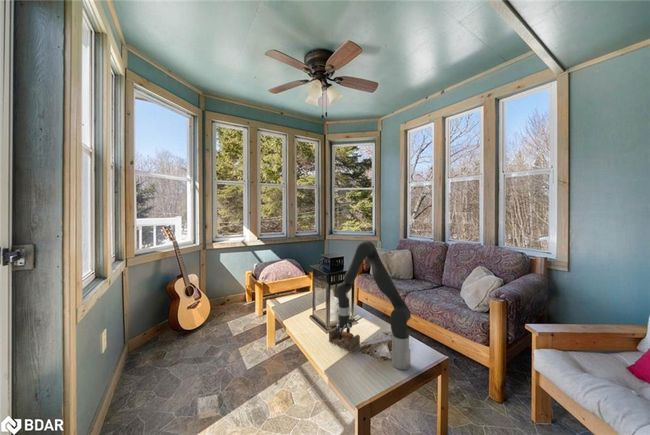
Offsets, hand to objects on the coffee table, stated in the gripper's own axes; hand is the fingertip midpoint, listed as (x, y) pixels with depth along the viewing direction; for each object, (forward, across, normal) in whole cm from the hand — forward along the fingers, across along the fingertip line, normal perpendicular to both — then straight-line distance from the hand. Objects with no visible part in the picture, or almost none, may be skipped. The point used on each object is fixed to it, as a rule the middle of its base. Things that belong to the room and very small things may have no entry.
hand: (344, 337), depth 165 cm
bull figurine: (+4, 0, 0) cm, 4 cm away
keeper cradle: (+5, 0, 0) cm, 5 cm away
